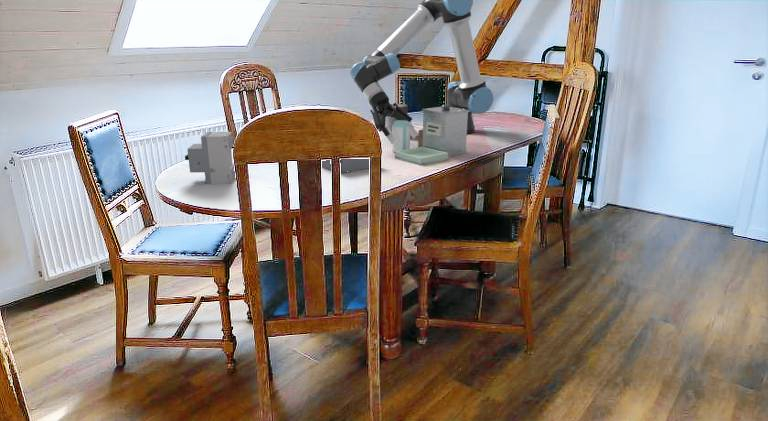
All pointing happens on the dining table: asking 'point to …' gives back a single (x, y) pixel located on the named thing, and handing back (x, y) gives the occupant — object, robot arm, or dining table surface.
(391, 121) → the pillar candle
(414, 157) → the tray
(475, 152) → the dining table surface
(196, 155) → the circuit breaker
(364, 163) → the wheel bin
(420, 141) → the walnut block
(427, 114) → the box
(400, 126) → the can
